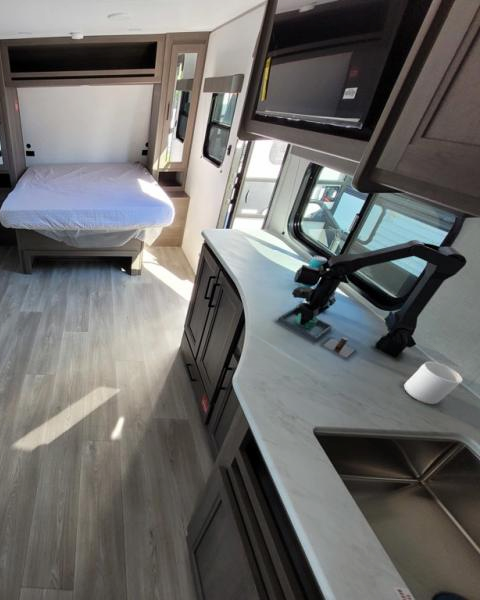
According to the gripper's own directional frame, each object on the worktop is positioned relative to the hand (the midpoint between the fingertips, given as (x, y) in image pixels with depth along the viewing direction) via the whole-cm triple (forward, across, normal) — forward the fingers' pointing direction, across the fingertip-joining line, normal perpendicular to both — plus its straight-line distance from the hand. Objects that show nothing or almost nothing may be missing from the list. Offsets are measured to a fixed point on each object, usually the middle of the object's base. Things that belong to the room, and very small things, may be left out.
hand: (305, 321), depth 121 cm
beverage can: (+3, -35, -15) cm, 38 cm away
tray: (+2, 0, 0) cm, 2 cm away
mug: (+3, +1, +36) cm, 36 cm away
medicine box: (+3, -18, -4) cm, 19 cm away
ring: (+1, 0, 0) cm, 1 cm away
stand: (+2, +2, +14) cm, 14 cm away
